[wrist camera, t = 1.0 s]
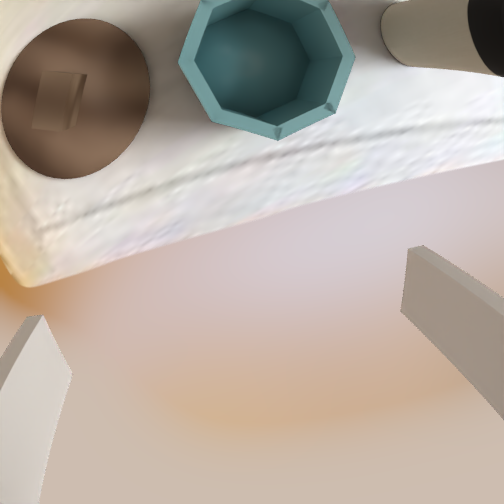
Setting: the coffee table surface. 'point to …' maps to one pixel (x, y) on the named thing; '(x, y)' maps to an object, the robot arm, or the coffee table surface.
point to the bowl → (267, 63)
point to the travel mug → (447, 34)
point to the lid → (75, 98)
